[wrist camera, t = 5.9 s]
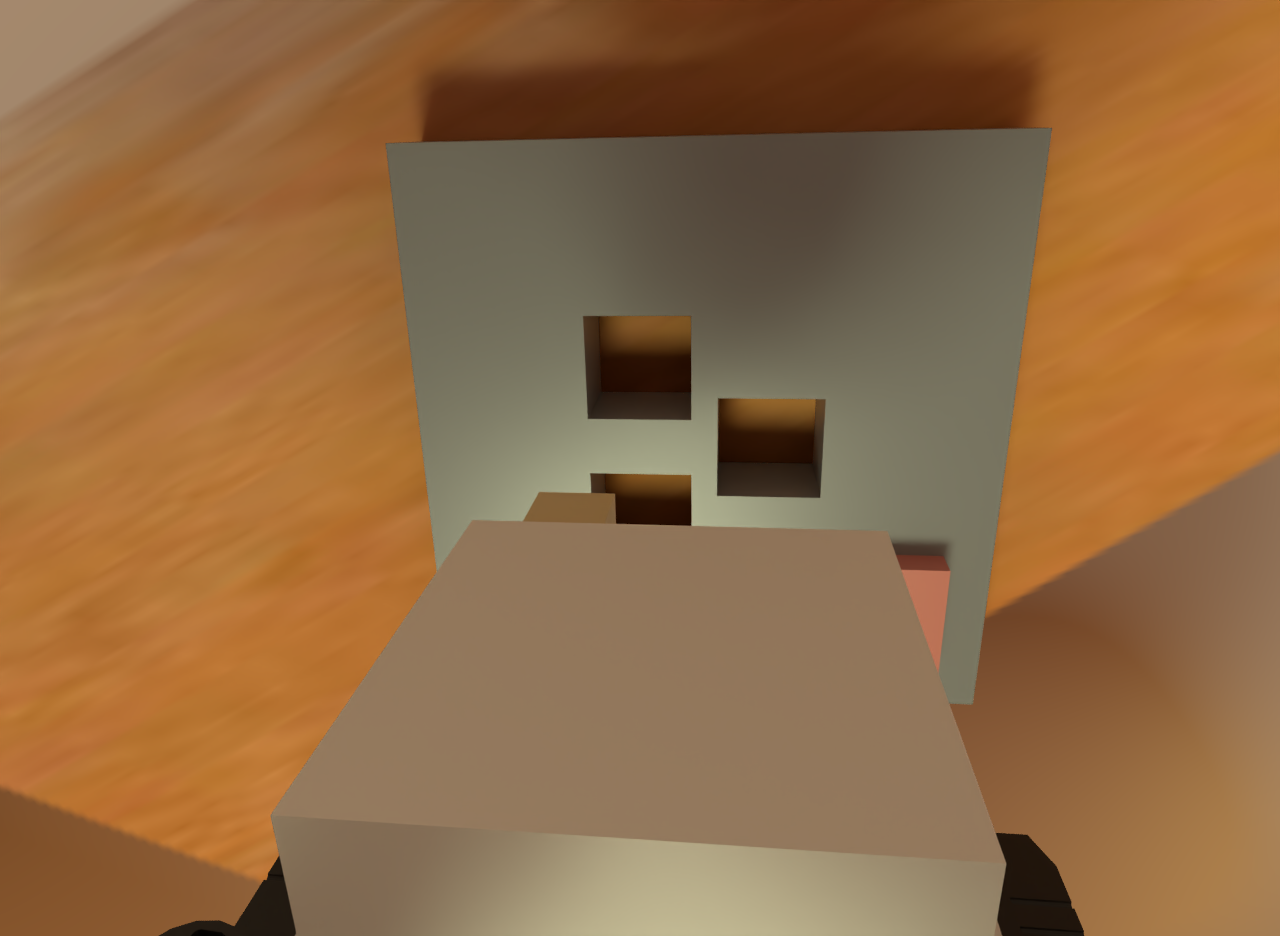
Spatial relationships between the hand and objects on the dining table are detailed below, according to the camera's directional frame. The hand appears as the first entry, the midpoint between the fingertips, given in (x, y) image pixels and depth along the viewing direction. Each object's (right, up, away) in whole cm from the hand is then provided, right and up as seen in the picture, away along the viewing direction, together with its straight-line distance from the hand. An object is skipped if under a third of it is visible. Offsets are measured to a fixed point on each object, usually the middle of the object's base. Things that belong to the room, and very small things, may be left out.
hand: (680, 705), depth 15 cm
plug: (0, +1, +2) cm, 2 cm away
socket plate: (+2, +6, +15) cm, 16 cm away
